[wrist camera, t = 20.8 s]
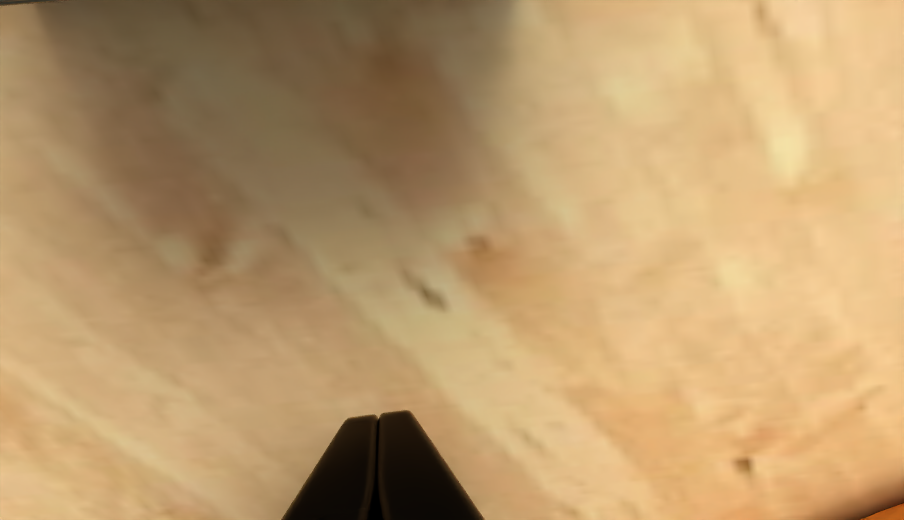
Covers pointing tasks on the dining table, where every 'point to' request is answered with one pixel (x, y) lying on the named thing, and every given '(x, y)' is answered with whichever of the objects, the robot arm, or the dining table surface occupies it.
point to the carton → (24, 1)
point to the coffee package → (888, 514)
